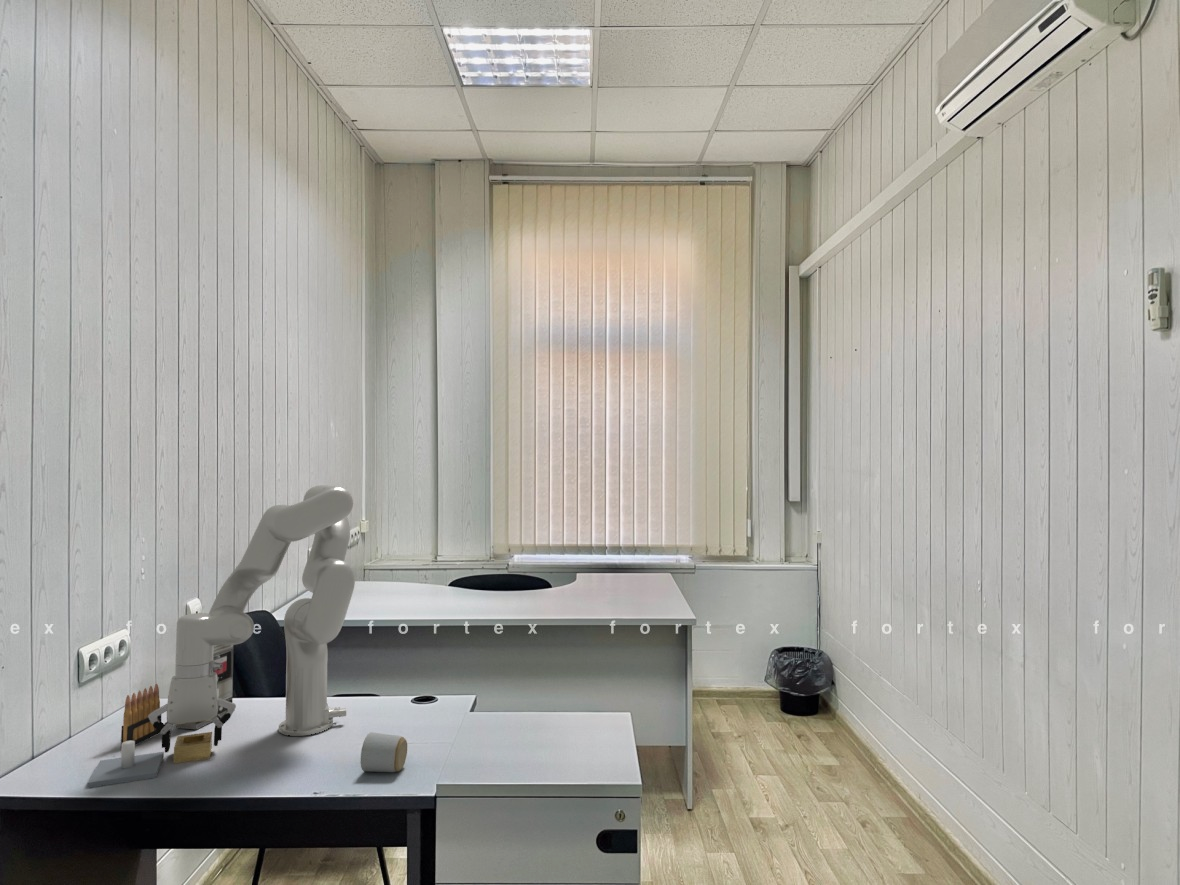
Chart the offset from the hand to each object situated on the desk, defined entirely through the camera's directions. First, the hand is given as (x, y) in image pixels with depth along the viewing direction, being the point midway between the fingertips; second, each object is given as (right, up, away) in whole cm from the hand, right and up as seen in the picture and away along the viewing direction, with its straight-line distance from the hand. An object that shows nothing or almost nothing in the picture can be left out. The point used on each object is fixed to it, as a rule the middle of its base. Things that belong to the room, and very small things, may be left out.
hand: (192, 747), depth 163 cm
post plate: (-9, -2, -8) cm, 12 cm away
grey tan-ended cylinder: (+45, -2, -6) cm, 46 cm away
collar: (0, -2, 0) cm, 2 cm away
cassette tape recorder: (-9, -3, +22) cm, 24 cm away
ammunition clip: (-17, -2, +9) cm, 19 cm away
